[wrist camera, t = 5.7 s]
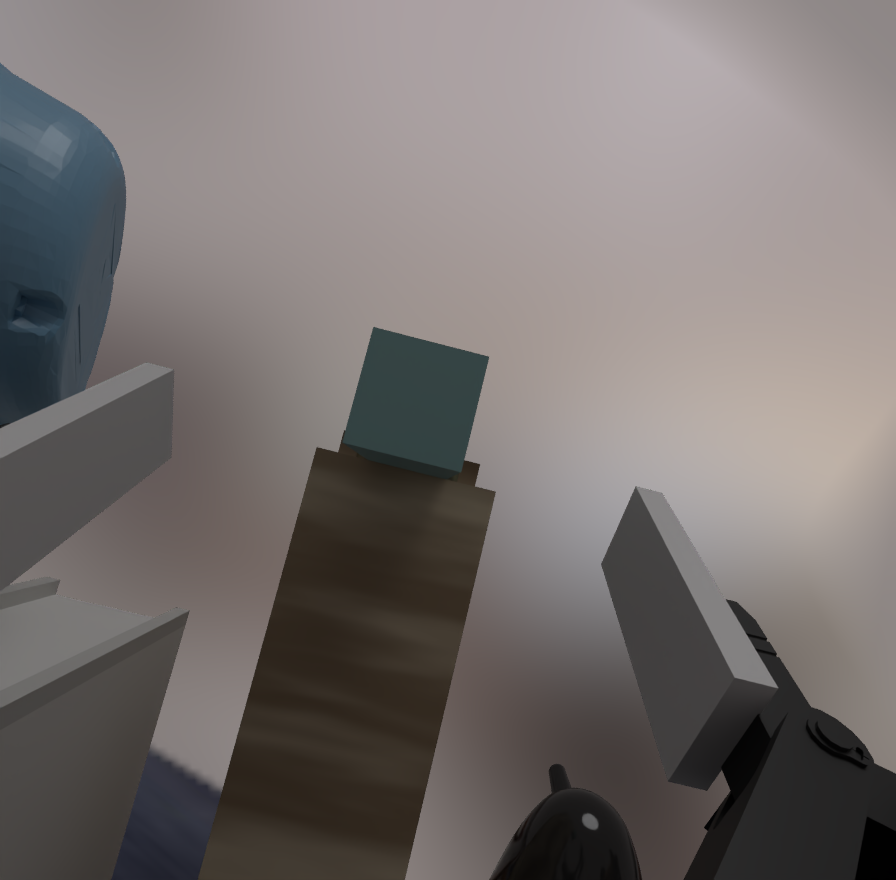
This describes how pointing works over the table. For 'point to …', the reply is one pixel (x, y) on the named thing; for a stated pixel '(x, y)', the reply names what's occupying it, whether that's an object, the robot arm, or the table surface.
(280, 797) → the brown tall block
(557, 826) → the pump dispenser
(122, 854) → the table surface
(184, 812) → the table surface
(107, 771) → the block
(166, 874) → the table surface
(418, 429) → the teal block
